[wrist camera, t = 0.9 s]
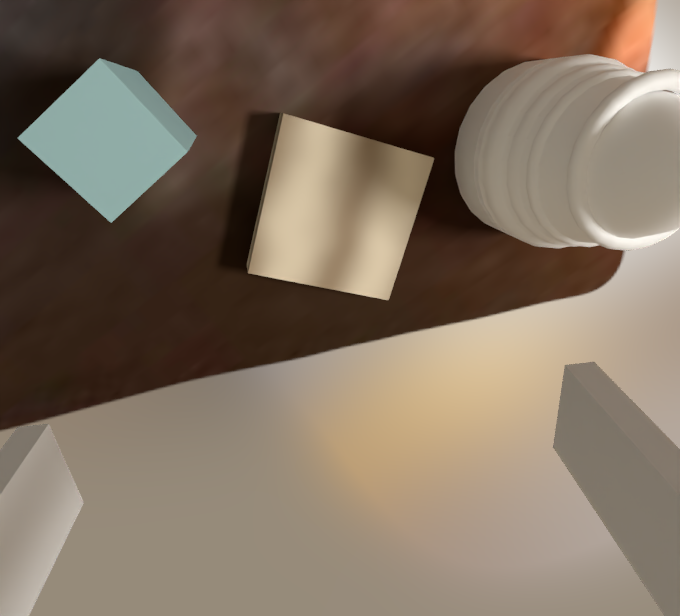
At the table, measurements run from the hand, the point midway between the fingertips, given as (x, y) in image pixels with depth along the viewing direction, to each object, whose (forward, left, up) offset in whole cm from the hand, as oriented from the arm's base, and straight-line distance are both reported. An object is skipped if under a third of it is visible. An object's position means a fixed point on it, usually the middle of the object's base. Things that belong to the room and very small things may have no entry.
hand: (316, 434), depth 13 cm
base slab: (+6, +2, -26) cm, 27 cm away
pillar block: (-8, +4, -26) cm, 27 cm away
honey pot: (+20, +10, -26) cm, 34 cm away
